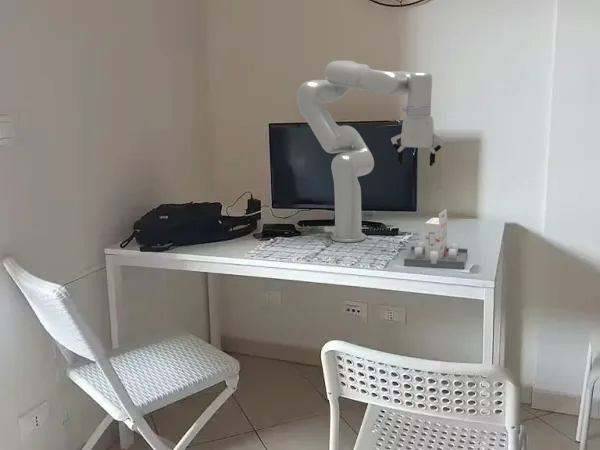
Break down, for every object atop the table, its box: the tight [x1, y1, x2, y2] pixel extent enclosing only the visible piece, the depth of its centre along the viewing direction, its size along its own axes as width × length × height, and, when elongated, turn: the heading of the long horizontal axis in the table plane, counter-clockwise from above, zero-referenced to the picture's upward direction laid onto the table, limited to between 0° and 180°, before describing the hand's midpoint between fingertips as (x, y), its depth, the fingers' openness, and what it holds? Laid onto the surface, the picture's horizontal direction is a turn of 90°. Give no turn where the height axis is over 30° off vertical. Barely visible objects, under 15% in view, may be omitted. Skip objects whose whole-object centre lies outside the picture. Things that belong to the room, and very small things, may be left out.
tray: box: [403, 241, 468, 269], centre depth 209 cm, size 18×17×5 cm
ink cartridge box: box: [424, 209, 448, 260], centre depth 208 cm, size 9×5×15 cm, turn 153°
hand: (416, 164), depth 216 cm, fingers open, 9 cm apart
